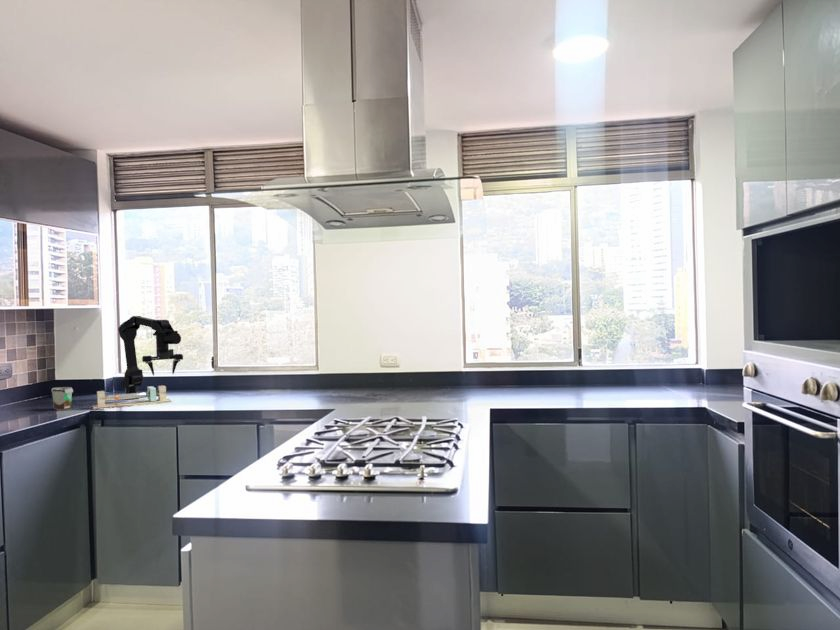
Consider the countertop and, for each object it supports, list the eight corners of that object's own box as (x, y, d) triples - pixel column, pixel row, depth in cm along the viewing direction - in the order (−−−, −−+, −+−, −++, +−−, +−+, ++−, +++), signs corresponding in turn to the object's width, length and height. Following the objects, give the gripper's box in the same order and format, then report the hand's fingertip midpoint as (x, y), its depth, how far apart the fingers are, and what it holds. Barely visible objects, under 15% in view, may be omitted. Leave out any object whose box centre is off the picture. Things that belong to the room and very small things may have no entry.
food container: (79, 408, 280) (78, 387, 280) (66, 410, 275) (65, 389, 275) (65, 406, 286) (64, 386, 286) (52, 408, 281) (51, 388, 281)
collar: (147, 398, 297) (147, 386, 297) (153, 398, 298) (152, 386, 298) (150, 401, 287) (150, 388, 287) (156, 400, 289) (155, 388, 288)
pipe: (97, 401, 279) (97, 395, 279) (165, 395, 295) (164, 389, 295) (97, 402, 277) (97, 396, 277) (165, 395, 293) (165, 390, 293)
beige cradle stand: (92, 407, 281) (91, 391, 281) (168, 399, 299) (167, 384, 299) (93, 410, 273) (92, 393, 273) (171, 402, 291) (170, 386, 291)
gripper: (143, 345, 286) (144, 377, 286) (184, 343, 296) (185, 374, 296) (141, 345, 296) (142, 375, 296) (181, 343, 305) (181, 372, 305)
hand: (163, 374), depth 298 cm, fingers open, 9 cm apart
